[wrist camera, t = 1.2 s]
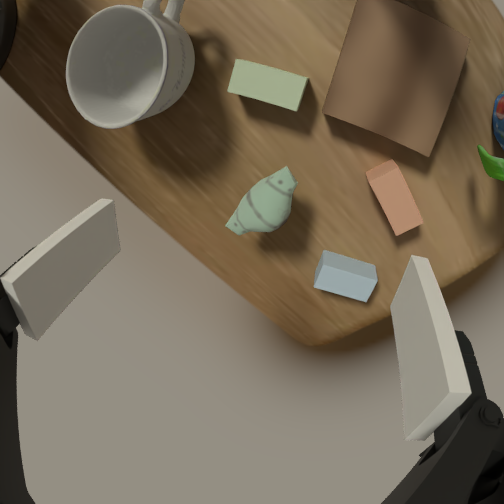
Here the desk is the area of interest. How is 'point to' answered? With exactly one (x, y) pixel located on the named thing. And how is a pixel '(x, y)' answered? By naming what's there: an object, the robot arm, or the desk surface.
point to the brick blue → (345, 276)
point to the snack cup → (495, 165)
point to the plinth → (396, 73)
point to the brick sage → (267, 84)
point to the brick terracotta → (394, 196)
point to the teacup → (129, 63)
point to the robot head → (265, 204)
